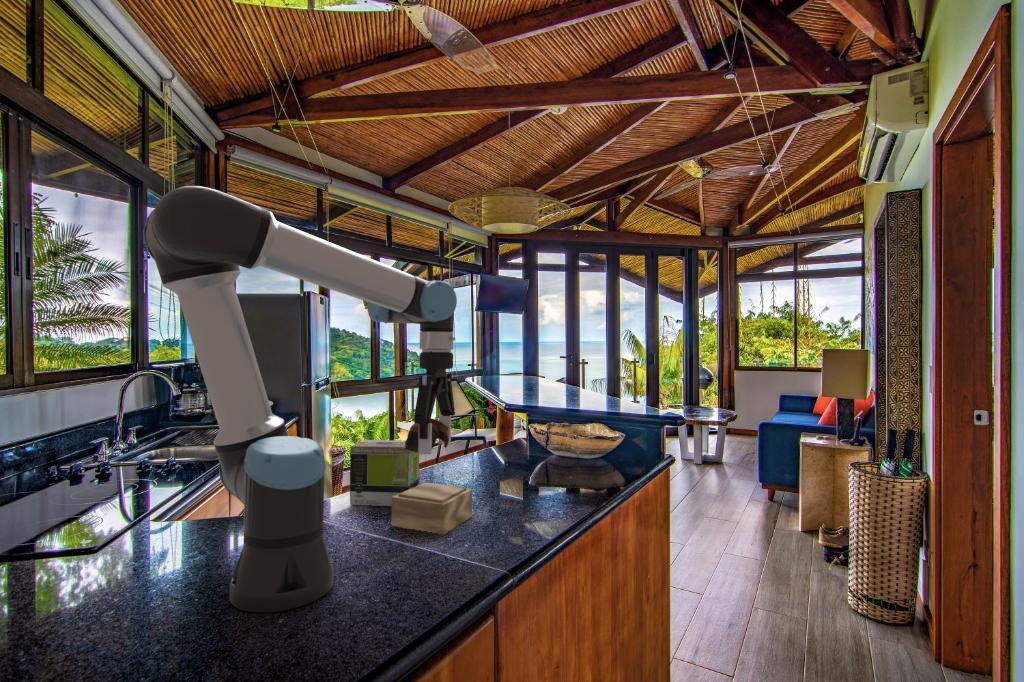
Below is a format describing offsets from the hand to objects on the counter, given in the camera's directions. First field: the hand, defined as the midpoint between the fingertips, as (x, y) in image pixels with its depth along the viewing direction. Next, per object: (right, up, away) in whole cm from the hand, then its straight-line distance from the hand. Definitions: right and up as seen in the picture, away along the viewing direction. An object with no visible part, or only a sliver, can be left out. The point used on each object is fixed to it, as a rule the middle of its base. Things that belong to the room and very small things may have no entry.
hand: (435, 448), depth 117 cm
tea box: (-15, -16, +14) cm, 26 cm away
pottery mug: (-2, 0, 0) cm, 2 cm away
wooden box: (-1, -16, 0) cm, 16 cm away
